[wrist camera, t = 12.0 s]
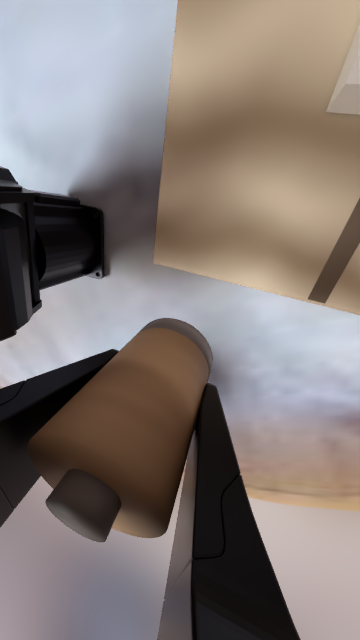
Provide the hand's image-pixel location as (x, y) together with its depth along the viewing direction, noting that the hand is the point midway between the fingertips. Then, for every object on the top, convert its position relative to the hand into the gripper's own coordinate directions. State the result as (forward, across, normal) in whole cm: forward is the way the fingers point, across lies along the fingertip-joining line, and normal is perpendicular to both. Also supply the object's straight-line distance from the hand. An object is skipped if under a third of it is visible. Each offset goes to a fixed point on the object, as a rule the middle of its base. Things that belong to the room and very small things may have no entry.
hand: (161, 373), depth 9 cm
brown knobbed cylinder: (+2, 0, 0) cm, 2 cm away
